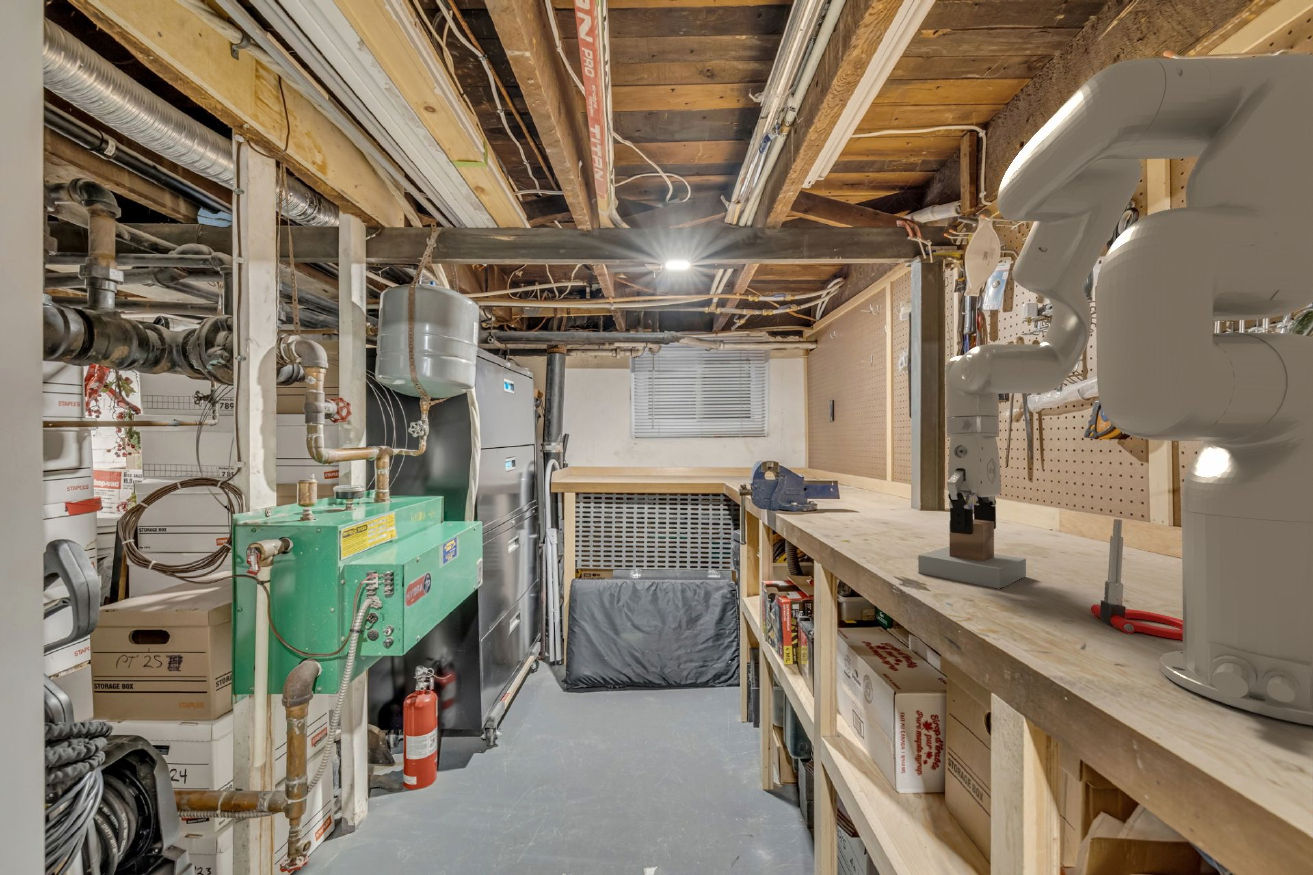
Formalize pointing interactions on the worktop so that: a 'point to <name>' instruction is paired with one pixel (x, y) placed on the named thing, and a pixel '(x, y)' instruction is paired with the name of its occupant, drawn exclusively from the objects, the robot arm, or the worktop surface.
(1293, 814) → the worktop surface
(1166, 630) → the red and grey piece
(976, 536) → the walnut block
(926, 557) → the base slab
